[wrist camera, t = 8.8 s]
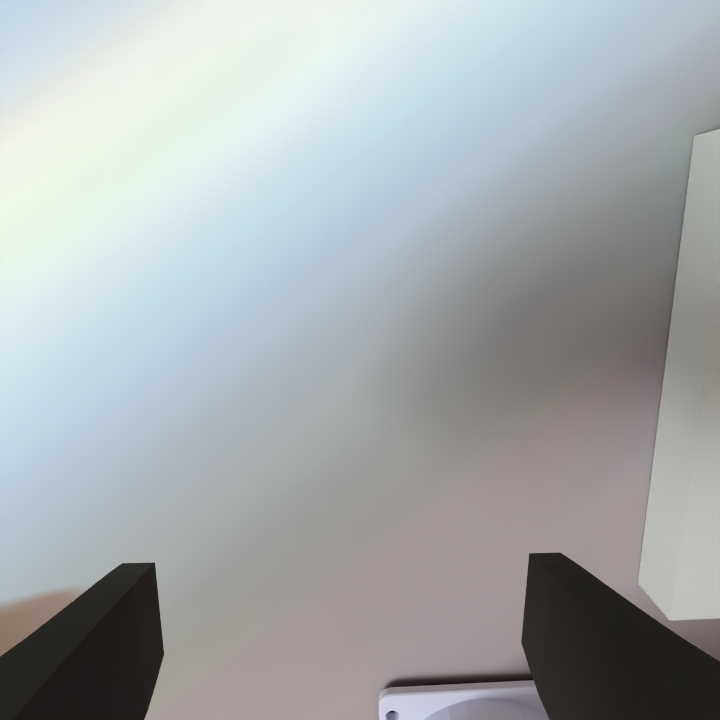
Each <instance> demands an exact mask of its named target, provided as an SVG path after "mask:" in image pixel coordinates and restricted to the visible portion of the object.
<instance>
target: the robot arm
mask: <svg viewBox="0 0 720 720" xmlns="http://www.w3.org/2000/svg"><path fill="white" fill-rule="evenodd" d="M521 643H522V646H523V649H524V652H525V655H526V659H527V662H528V665H529V668H530V671H531V674H532V677H533V680H528V681H508V682H488V683H468V684H448V685H428V686H408V687H391V688H386V689H385V690H383V691H382V692H381V693H380V695H379V720H720V662H719V661H717V660H716V659H714V658H713V657H711V656H710V655H708V654H707V653H705V652H703V651H702V650H700V649H699V648H697V647H696V646H694V645H692V644H691V643H689V642H688V641H686V640H685V639H683V638H682V637H680V636H679V635H677V634H676V633H674V632H673V631H671V630H670V629H668V628H667V627H665V626H664V625H662V624H661V623H659V622H658V621H656V620H655V619H653V618H652V617H651V616H649V615H648V614H646V613H645V612H643V611H642V610H641V609H639V608H638V607H636V606H635V605H634V604H632V603H631V602H629V601H628V600H627V599H625V598H624V597H622V596H621V595H620V594H618V593H617V592H615V591H614V590H613V589H611V588H610V587H609V586H607V585H606V584H604V583H603V582H602V581H600V580H599V579H597V578H596V577H595V576H593V575H592V574H591V573H589V572H588V571H586V570H585V569H584V568H582V567H581V566H579V565H578V564H577V563H575V562H574V561H572V560H571V559H569V558H568V557H566V556H565V555H563V554H561V553H531V554H529V564H528V575H527V587H526V598H525V609H524V620H523V631H522V642H521ZM163 656H164V650H163V640H162V630H161V620H160V610H159V600H158V590H157V580H156V570H155V563H123V564H121V565H119V566H118V567H117V568H115V569H114V570H112V571H111V572H110V573H108V574H107V575H106V576H105V577H103V578H102V579H101V580H99V581H98V582H97V583H96V584H94V585H93V586H92V587H91V588H89V589H88V590H87V591H85V592H84V593H83V594H82V595H80V596H79V597H78V598H77V599H75V600H74V601H73V602H72V603H70V604H69V605H68V606H67V607H66V608H64V609H63V610H62V611H60V612H59V613H58V614H56V615H55V616H54V617H53V618H51V619H50V620H49V621H47V622H46V623H45V624H43V625H42V626H41V627H40V628H38V629H37V630H36V631H35V632H33V633H32V634H31V635H29V636H28V637H27V638H25V639H24V640H23V641H21V642H20V643H18V644H17V645H16V646H14V647H13V648H12V649H10V650H9V651H8V652H6V653H5V654H4V655H2V656H1V657H0V720H144V718H145V716H146V713H147V711H148V708H149V704H150V701H151V698H152V694H153V691H154V688H155V684H156V681H157V677H158V674H159V670H160V666H161V663H162V659H163ZM389 711H395V712H392V713H390V712H389Z"/></svg>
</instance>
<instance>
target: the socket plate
mask: <svg viewBox="0 0 720 720" xmlns="http://www.w3.org/2000/svg"><path fill="white" fill-rule="evenodd" d="M638 584H639V585H640V587H641V588H642V589H643V590H644V591H645V592H646V593H647V595H648V596H649V597H650V598H651V599H652V600H653V602H654V603H655V604H656V605H657V606H658V607H659V609H660V610H661V611H662V612H663V613H664V614H665V616H666V617H667V618H668V619H669V620H670V621H671V620H693V619H715V618H720V129H718V130H714V131H710V132H707V133H703V134H699V135H695V136H694V140H693V148H692V156H691V164H690V172H689V180H688V188H687V196H686V204H685V211H684V219H683V227H682V235H681V243H680V251H679V259H678V267H677V275H676V283H675V291H674V299H673V307H672V315H671V323H670V331H669V339H668V347H667V355H666V363H665V371H664V379H663V387H662V395H661V403H660V410H659V418H658V426H657V434H656V442H655V450H654V458H653V466H652V474H651V482H650V490H649V498H648V506H647V514H646V522H645V530H644V538H643V546H642V554H641V562H640V570H639V578H638Z"/></svg>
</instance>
